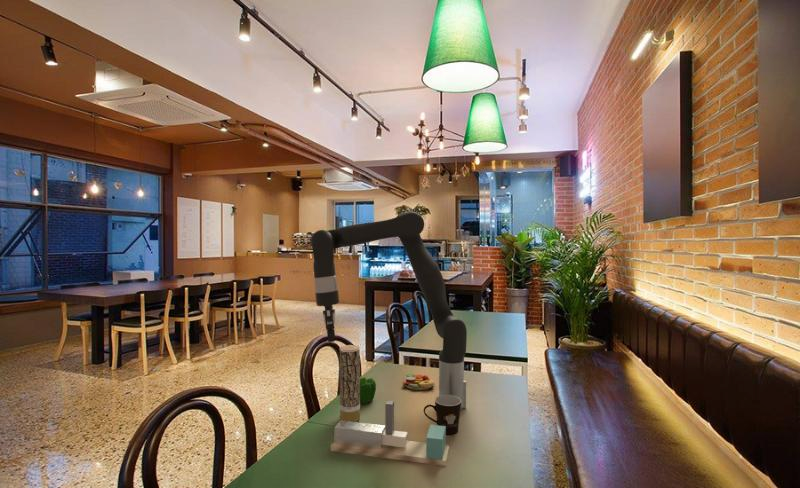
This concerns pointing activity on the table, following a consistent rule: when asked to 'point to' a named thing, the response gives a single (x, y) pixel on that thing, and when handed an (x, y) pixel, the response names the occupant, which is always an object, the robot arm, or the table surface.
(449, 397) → the coffee mug
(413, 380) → the toy food set
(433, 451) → the teal socket
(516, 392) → the table surface
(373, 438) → the metal sleeve
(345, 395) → the paper tube
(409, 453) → the track board
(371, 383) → the bell pepper
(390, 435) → the white bar
